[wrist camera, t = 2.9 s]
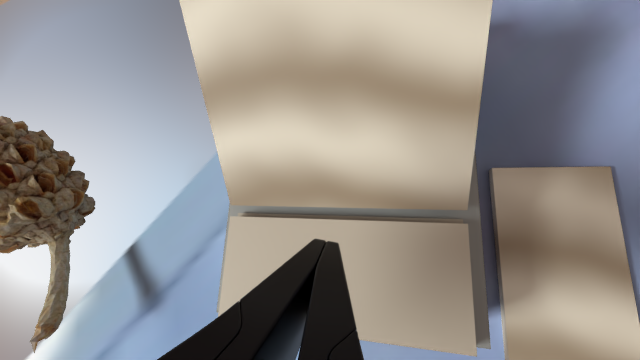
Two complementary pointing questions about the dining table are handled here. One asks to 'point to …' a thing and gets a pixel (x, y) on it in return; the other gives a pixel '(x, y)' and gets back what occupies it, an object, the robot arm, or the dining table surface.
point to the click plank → (342, 99)
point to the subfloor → (377, 267)
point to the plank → (562, 265)
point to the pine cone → (40, 208)
